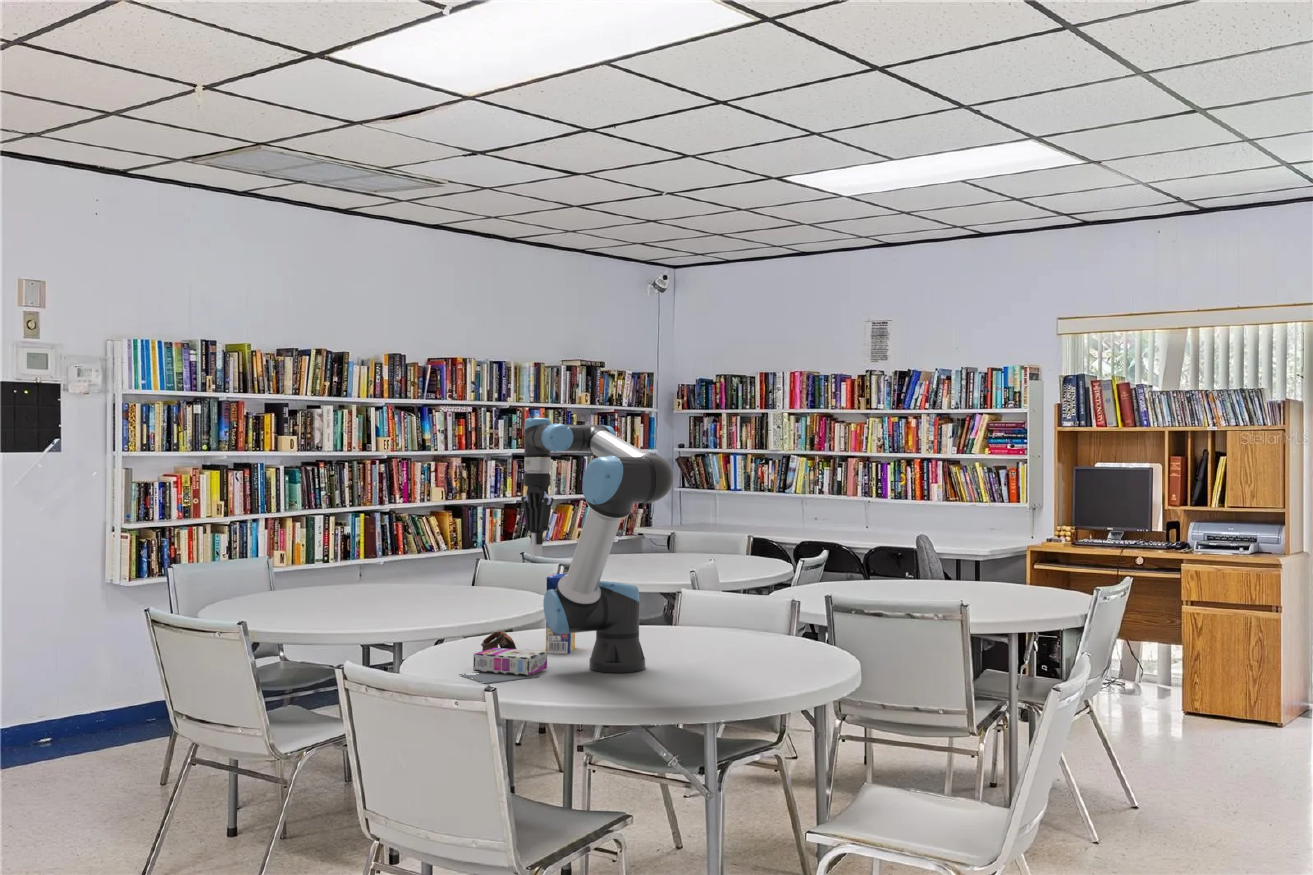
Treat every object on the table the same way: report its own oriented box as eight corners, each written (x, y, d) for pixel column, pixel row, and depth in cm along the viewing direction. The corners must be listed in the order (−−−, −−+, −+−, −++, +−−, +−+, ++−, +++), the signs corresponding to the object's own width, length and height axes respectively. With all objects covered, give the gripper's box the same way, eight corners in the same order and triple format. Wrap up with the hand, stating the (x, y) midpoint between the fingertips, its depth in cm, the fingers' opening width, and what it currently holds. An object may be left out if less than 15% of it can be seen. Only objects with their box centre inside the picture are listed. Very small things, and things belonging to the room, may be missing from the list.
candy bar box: (472, 672, 299) (528, 676, 293) (472, 653, 299) (528, 657, 293) (494, 665, 309) (548, 669, 303) (494, 647, 309) (548, 650, 303)
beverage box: (574, 647, 340) (575, 573, 341) (569, 653, 329) (569, 577, 330) (552, 647, 341) (553, 573, 341) (545, 653, 330) (546, 577, 330)
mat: (540, 677, 294) (540, 675, 294) (485, 684, 284) (485, 683, 284) (512, 668, 305) (512, 667, 305) (459, 675, 295) (459, 674, 295)
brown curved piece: (518, 661, 319) (504, 637, 318) (488, 675, 321) (474, 651, 319) (523, 643, 331) (510, 620, 329) (495, 657, 332) (481, 633, 331)
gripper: (513, 472, 324) (512, 555, 324) (539, 472, 314) (538, 558, 314) (535, 472, 329) (534, 553, 329) (561, 472, 319) (560, 556, 319)
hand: (536, 555), depth 321 cm, fingers closed
